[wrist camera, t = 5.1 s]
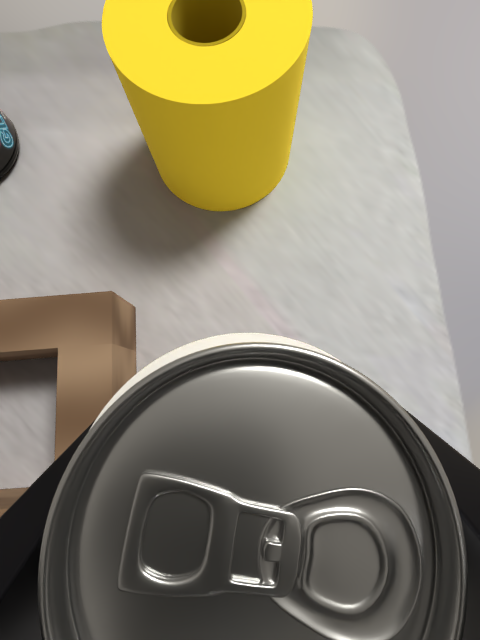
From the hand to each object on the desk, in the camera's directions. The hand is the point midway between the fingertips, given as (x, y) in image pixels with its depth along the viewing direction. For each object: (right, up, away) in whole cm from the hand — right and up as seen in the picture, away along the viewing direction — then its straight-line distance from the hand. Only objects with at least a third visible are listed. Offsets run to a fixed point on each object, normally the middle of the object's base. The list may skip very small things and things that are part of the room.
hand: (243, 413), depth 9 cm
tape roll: (-1, +15, +17) cm, 23 cm away
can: (-1, -3, +8) cm, 8 cm away
